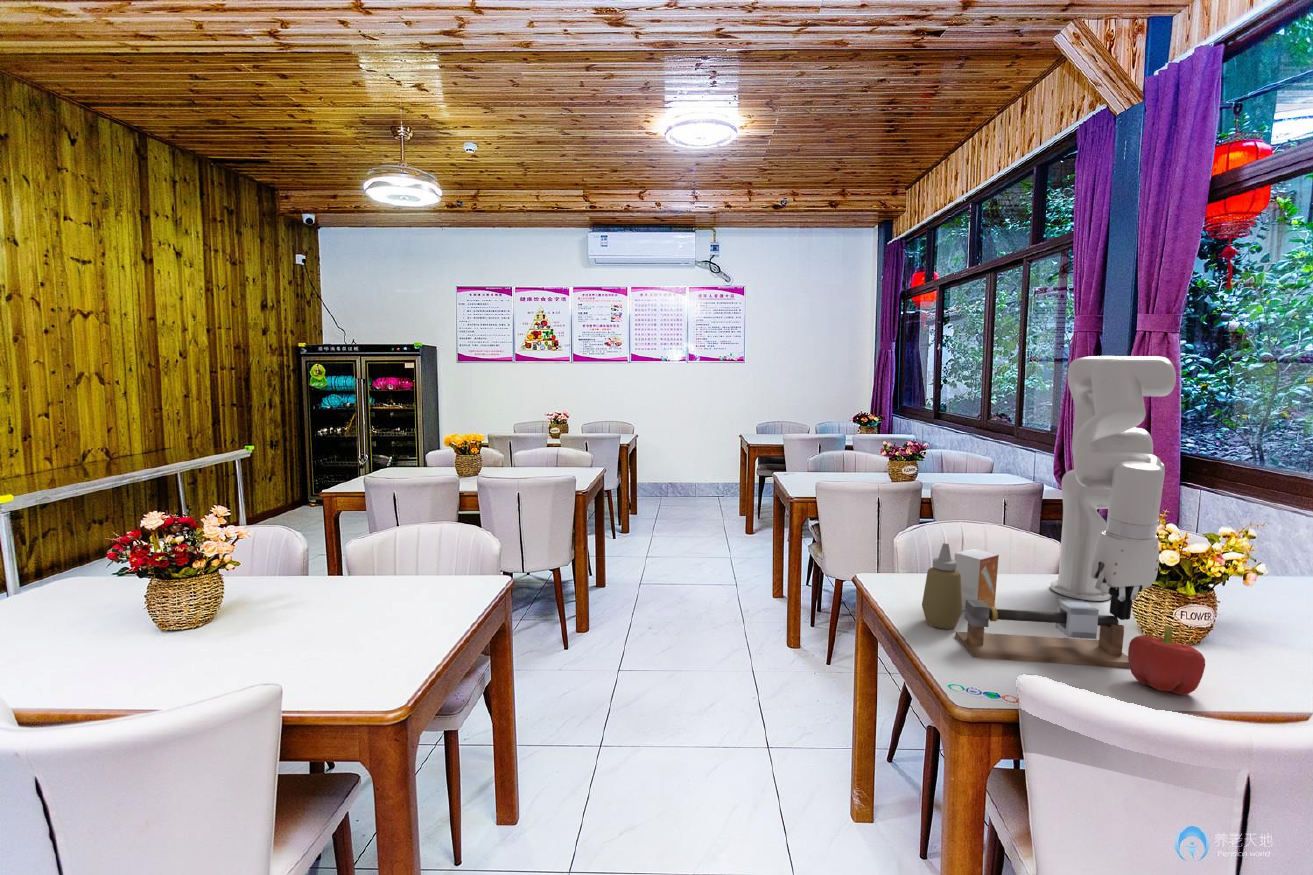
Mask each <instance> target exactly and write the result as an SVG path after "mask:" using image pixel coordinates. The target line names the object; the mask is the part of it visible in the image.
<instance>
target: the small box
mask: <svg viewBox="0 0 1313 875" xmlns="http://www.w3.org/2000/svg"><path fill="white" fill-rule="evenodd" d="M999 556H1000V555H999V554H997V553H993V552H990V551H985V550H981V549H977V548H971V549H967V550H962V551H958V552H955V553H954V560H955V561H956V562H957V566H956V570H957V571H958V572H959V573H960V574H961V591H962V611H965V605H966V599H967V600H982V601H983V602H984V603H985V604H986V605H987V606H988V607H995V608H996V595H997V594H996V592H997V581H998V580H997V579H998V568H999V567H998V566H999Z"/></svg>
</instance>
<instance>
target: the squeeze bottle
mask: <svg viewBox="0 0 1313 875" xmlns="http://www.w3.org/2000/svg"><path fill="white" fill-rule="evenodd" d="M956 566H957V562H956V561H955V559H952V554H951V548H950V545H949V543H945V542H944V543H942V545H941V549H940V552H939V555H938V557H934V558H933V559H932V567H930V568H928V570H927V573H926V577H925V584H924V591H923V596H922V602H921V606H922V611H923V615H924V617H925V622H926V623H927V624H928V625H930V626H932V627H934V628H938V629H944V630H945V629H946V630H947V629H948V630H951V629H955V628H956V626H957V624H958V623H959V620H960V617H961V615H962V614H963V610H962V591H961V574H960V573H959V572H958V571H957V570H956Z"/></svg>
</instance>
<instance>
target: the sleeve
mask: <svg viewBox="0 0 1313 875" xmlns="http://www.w3.org/2000/svg"><path fill="white" fill-rule="evenodd" d="M1099 610H1100V609H1098V608H1097V607H1095V606H1093V604H1090V603H1089V602H1087V600H1073V599H1057V605H1056V613H1067V623H1066V624H1064V623H1055V629H1057V630H1058V631H1059V632H1061V633H1062V634H1063V635H1064V636H1066V638H1072V639H1088V640H1097V635H1098V634H1097V632H1098V615H1099Z"/></svg>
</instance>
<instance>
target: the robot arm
mask: <svg viewBox="0 0 1313 875" xmlns="http://www.w3.org/2000/svg"><path fill="white" fill-rule="evenodd" d="M1176 382H1177V372H1176V369H1175V366H1174V364H1173V363H1172V362H1171V360H1170V359H1169V358H1167V357H1164V356H1151V355H1150V356H1148V355H1147V356H1145V355H1144V356H1143V355H1142V356H1141V355H1139V356H1138V355H1137V356H1136V355H1135V356H1134V355H1132V356H1130V355H1129V356H1128V355H1127V356H1126V355H1124V356H1122V355H1121V356H1119V355H1117V356H1115V355H1100V356H1099V355H1097V356H1095V355H1094V356H1092V355H1091V356H1084V357H1079V358H1075V359H1073V360H1072V361H1071V362H1070V364H1069V365H1068V368H1067V384H1068V388H1069V391H1070V392H1069V393H1070V394H1071V397H1072V400H1073V404H1074V416H1073V417H1074V418H1073V429H1072V439H1071V453H1072V459H1073V460H1072V461H1073V469H1071V470H1069V471H1067V472H1066V473H1064V474H1063V476H1062V479H1061V495H1062V498H1061V499H1062V527H1061V540H1060V551H1059V554H1060V555H1059V566H1058V576H1057V577H1058V578H1057V579H1058V580H1054V581H1052V582H1050V589H1051V590H1052V591H1053V592H1055V593H1056V594H1059V595H1062V596H1065V597H1069V598H1072V599H1077V600H1081V601H1090V602H1103V601H1108V600H1110V604H1109V614H1111V616H1116V617H1117V618H1118V620H1121V621H1125V620H1127V621H1128V620H1130V619H1131V616H1132V615H1131V614H1132V606H1133V601H1135V600H1137V597H1138V594H1139V593H1140V592H1141V591H1142V590H1145V589H1147V588H1151V586H1152V584H1153V583H1154V582H1156V579H1157V576H1158V571H1159V561H1160V560H1159V558H1160V547H1159V545H1160V544H1159V537H1158V536H1157V530H1158V527H1159V526H1160V525H1161V522H1160V519H1159V518H1160V517H1159V516H1160V510H1161V504H1162V503H1161V502H1162V496H1163V489H1164V480H1165V475H1166V473H1165V472H1166V468H1165V467H1166V466H1165V465H1164V463H1163V462H1162V461H1161V458H1160V457H1158V456H1156V455H1155V454H1154V444H1153V443H1154V442H1153V438H1152V436H1151V434H1150V432H1148V431H1147V430H1146V429H1145V428H1141V427H1138V426H1140V424H1142V423H1143V422H1144V421H1145V418H1146V416H1147V413H1146V407H1145V401H1144V397H1166V396H1168V395H1170V394H1171V393H1172V392H1173V390H1174V389H1175V386H1176ZM1099 509H1100V510H1106V509H1107V518H1106V520H1105V519H1104V518H1103V516H1102V515H1101V514H1100V513H1099V512H1098V510H1099Z"/></svg>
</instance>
